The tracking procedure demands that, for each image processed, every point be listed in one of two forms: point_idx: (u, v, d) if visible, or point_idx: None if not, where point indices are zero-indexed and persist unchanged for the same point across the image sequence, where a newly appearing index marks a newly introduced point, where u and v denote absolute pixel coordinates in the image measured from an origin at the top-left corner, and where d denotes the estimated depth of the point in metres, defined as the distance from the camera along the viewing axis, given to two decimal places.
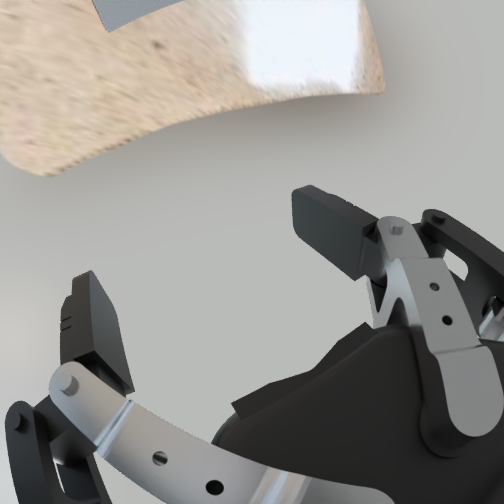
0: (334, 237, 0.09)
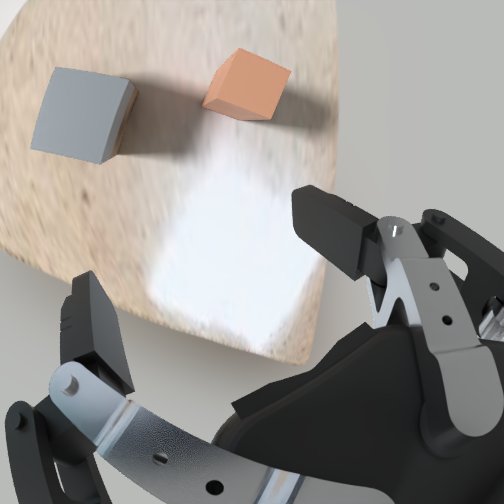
0: (334, 238, 0.09)
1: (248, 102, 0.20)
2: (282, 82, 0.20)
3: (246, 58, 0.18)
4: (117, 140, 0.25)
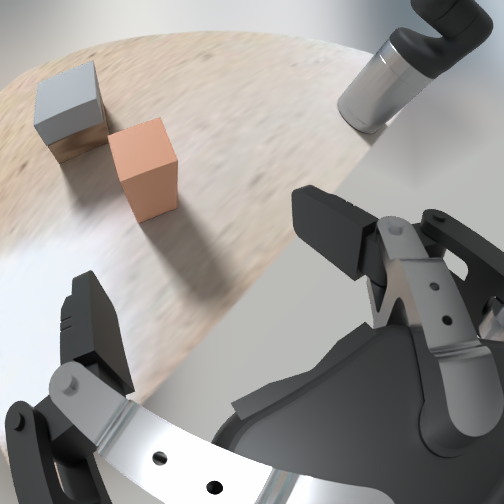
0: (334, 238, 0.09)
1: (120, 155, 0.20)
2: (160, 162, 0.20)
3: (156, 127, 0.21)
4: (64, 146, 0.26)
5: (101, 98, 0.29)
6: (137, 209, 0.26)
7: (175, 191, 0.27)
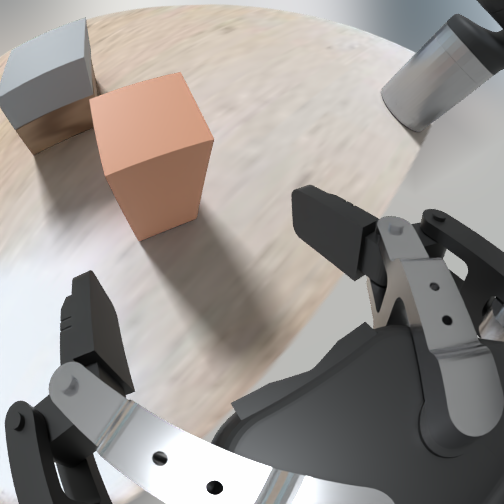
0: (334, 237, 0.09)
1: (108, 129, 0.10)
2: (181, 142, 0.11)
3: (173, 85, 0.11)
4: (38, 130, 0.17)
5: None
6: (137, 223, 0.16)
7: (198, 195, 0.17)
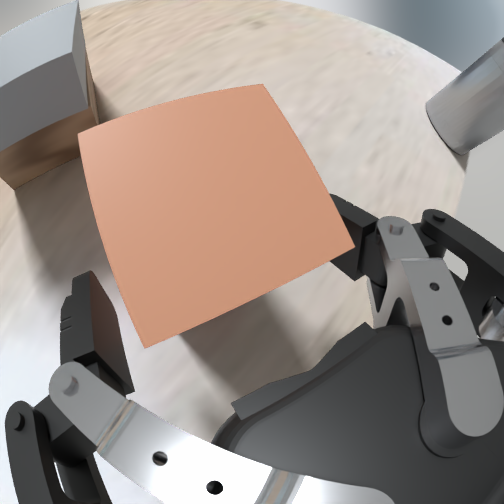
0: None
1: (127, 219, 0.05)
2: (301, 258, 0.06)
3: (255, 111, 0.06)
4: (16, 159, 0.11)
5: (89, 70, 0.15)
6: None
7: None
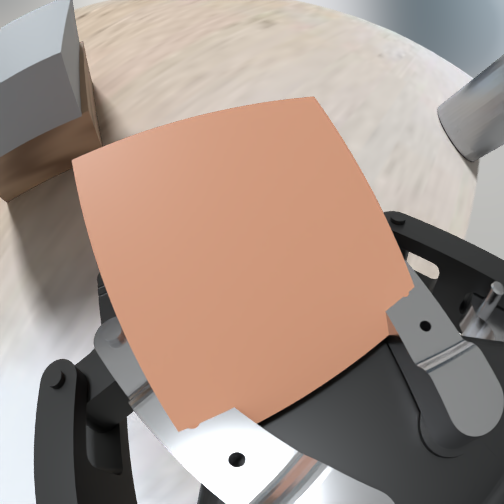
0: None
1: (154, 295, 0.04)
2: (371, 329, 0.04)
3: (311, 133, 0.05)
4: (7, 170, 0.10)
5: (88, 70, 0.13)
6: None
7: None
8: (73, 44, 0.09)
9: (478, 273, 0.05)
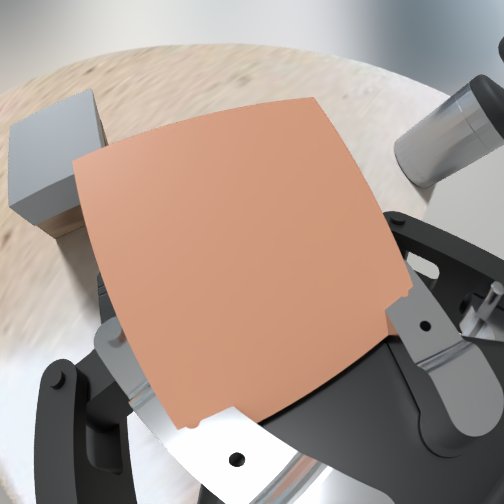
0: None
1: (154, 295, 0.04)
2: (371, 329, 0.04)
3: (311, 134, 0.05)
4: (60, 221, 0.19)
5: (106, 140, 0.23)
6: None
7: None
8: (101, 134, 0.18)
9: (478, 273, 0.05)
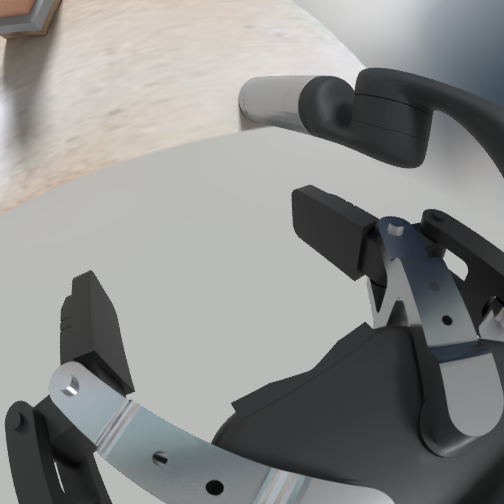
0: (334, 237, 0.09)
1: None
2: None
3: None
4: (10, 34, 0.15)
5: None
6: None
7: (18, 3, 0.09)
8: (49, 0, 0.14)
9: (502, 278, 0.05)
